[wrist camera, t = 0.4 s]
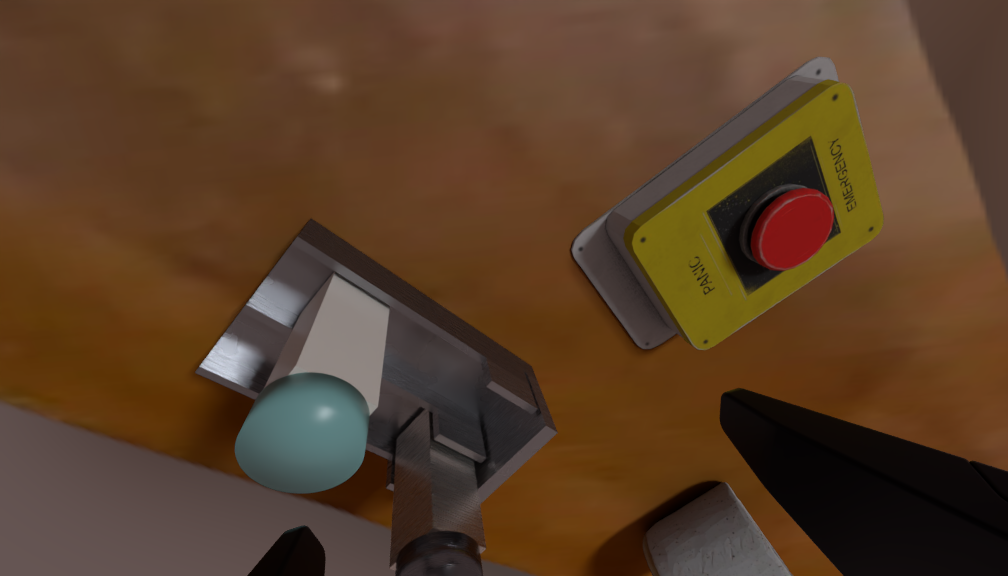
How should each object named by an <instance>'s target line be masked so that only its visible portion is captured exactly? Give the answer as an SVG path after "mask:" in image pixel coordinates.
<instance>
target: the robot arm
mask: <svg viewBox="0 0 1008 576" xmlns="http://www.w3.org/2000/svg"><path fill="white" fill-rule="evenodd" d="M720 424H721V426H722V428H723V430H724V432H725V433H726V435H727V436H728V438H729V439H730V440H731V442H732V443H733V444H734V446H735V447H736V449H737V450H738V451H739V453H740V454H741V455H742V457H743V458H744V460H745V461H746V462H747V464H748V465H749V466H750V468H751V469H752V471H753V472H754V473H755V475H756V476H757V477H758V479H759V480H760V481H761V483H762V484H763V485H764V487H765V488H766V489H767V490H768V491H769V493H770V494H771V495H772V496H773V497H774V498H775V500H776V501H777V502H778V503H779V504H780V505H781V506H782V507H783V508H784V510H785V511H786V512H787V513H788V514H789V515H790V516H791V517H792V519H793V520H794V521H795V522H796V523H797V524H798V525H799V526H800V527H801V529H802V530H803V531H804V532H805V533H806V534H807V535H808V536H809V538H810V539H811V540H812V541H813V542H814V543H815V544H816V545H817V547H818V548H819V549H820V550H821V551H822V552H823V553H824V554H825V555H826V557H827V558H828V559H829V560H830V561H831V562H832V563H833V564H834V566H835V567H836V568H837V569H838V570H839V571H840V572H841V573H842V574H843V576H1008V471H1005V470H1002V469H998V468H995V467H992V466H989V465H986V464H983V463H979V462H976V461H970V462H969V461H968V460H966V459H964V458H961V457H958V456H955V455H952V454H949V453H945V452H942V451H939V450H936V449H933V448H930V447H926V446H923V445H920V444H917V443H914V442H911V441H907V440H904V439H901V438H898V437H895V436H892V435H888V434H885V433H882V432H879V431H876V430H873V429H869V428H866V427H863V426H860V425H857V424H853V423H850V422H847V421H844V420H841V419H838V418H834V417H831V416H828V415H825V414H822V413H819V412H815V411H812V410H809V409H806V408H803V407H800V406H796V405H793V404H790V403H787V402H784V401H781V400H777V399H774V398H771V397H768V396H765V395H761V394H758V393H755V392H752V391H749V390H746V389H741V388H737V389H734V390H731V391H727V392H725V393H723V394H722V396H721V405H720ZM324 573H325V551H324V548H323V546H322V545H321V544H320V542H319V541H318V539H317V538H316V537H315V535H314V534H313V533H312V531H311V530H310V529H309V527H307V526H300V527H296V528H293V529H290V530H287V531H286V532H284V533H283V534H282V535H281V537H280V538H279V539H278V540H277V541H276V542H275V544H274V545H273V546H272V547H271V548H270V550H269V551H268V552H267V553H266V554H265V555H264V557H263V558H262V559H261V560H260V561H259V563H258V564H257V565H256V566H255V567H254V569H253V570H252V571H251V572H250V573H249V574H248V576H324Z"/></svg>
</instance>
